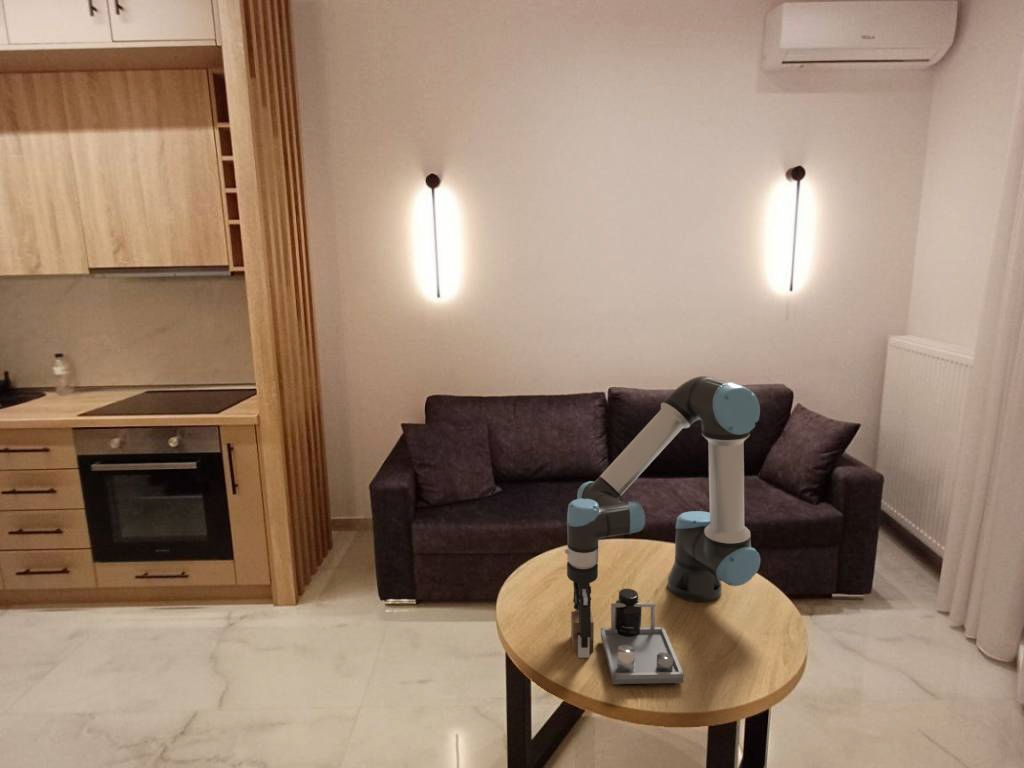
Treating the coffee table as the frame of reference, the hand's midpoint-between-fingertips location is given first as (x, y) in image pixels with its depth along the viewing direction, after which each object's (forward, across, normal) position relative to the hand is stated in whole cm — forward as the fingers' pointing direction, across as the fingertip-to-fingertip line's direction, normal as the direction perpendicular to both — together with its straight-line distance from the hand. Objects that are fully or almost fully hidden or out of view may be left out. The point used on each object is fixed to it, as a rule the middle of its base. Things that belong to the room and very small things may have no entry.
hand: (581, 644), depth 154 cm
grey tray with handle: (0, +7, +13) cm, 15 cm away
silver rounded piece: (-2, +13, +9) cm, 16 cm away
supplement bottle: (0, -3, +12) cm, 12 cm away
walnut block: (0, 0, 0) cm, 0 cm away
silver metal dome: (-2, +13, +18) cm, 22 cm away
